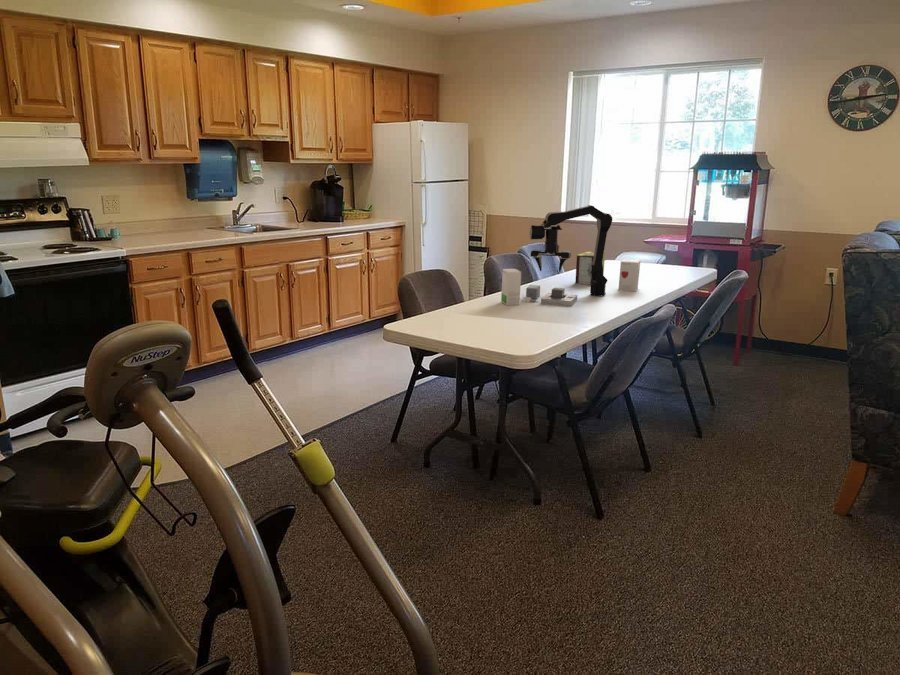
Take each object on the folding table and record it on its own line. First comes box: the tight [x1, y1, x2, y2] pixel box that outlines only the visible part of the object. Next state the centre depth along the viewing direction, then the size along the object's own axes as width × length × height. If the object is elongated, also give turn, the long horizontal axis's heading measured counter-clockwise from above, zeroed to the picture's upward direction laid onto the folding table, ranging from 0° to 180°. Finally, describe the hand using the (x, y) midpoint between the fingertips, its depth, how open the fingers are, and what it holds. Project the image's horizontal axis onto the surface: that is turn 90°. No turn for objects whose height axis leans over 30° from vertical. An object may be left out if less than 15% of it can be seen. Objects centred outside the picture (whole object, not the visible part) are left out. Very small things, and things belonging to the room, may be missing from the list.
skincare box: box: [500, 268, 522, 307], centre depth 296 cm, size 8×7×16 cm
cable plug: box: [524, 296, 537, 303], centre depth 302 cm, size 5×3×2 cm, turn 68°
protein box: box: [574, 251, 606, 286], centre depth 348 cm, size 10×15×16 cm
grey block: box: [551, 287, 565, 298], centre depth 302 cm, size 5×5×7 cm
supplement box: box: [618, 258, 641, 292], centre depth 329 cm, size 9×9×15 cm
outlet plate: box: [540, 292, 578, 307], centre depth 301 cm, size 14×14×3 cm
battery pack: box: [525, 284, 541, 301], centre depth 309 cm, size 5×9×6 cm, turn 162°
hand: (550, 271), depth 313 cm, fingers open, 9 cm apart
